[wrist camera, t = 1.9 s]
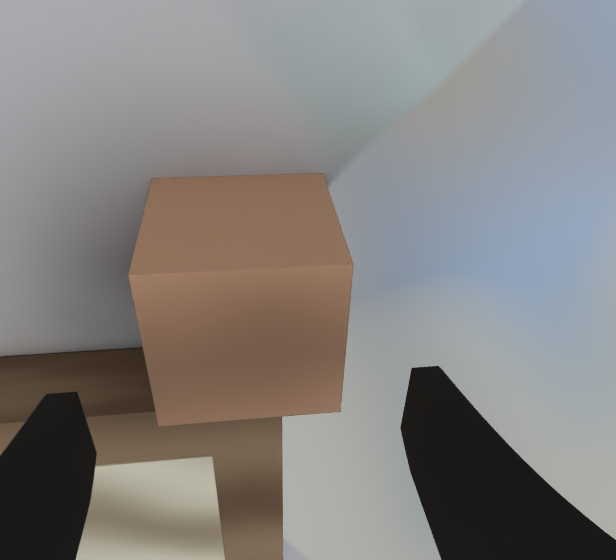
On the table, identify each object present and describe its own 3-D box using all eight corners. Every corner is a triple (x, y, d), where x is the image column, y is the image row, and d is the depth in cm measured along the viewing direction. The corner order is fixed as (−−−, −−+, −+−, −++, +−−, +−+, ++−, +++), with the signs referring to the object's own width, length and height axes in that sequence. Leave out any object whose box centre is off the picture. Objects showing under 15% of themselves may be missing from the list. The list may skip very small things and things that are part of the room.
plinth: (277, 522, 27) (282, 585, 25) (21, 548, 26) (0, 618, 23) (275, 339, 20) (282, 402, 18) (-77, 362, 19) (-122, 434, 16)
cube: (316, 302, 20) (340, 411, 16) (172, 311, 19) (158, 426, 15) (322, 171, 17) (353, 264, 13) (152, 176, 16) (127, 275, 12)
